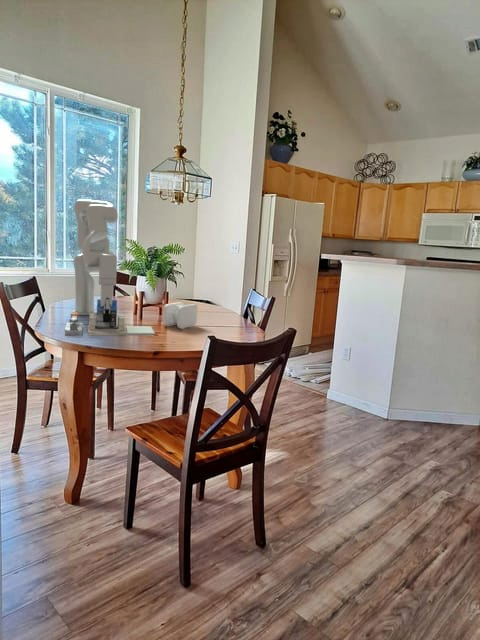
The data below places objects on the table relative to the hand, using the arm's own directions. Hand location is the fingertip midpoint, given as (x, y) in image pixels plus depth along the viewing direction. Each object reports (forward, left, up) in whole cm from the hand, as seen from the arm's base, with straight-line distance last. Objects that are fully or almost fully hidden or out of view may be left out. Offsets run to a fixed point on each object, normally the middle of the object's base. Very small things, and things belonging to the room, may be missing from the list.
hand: (106, 320), depth 206 cm
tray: (+1, +15, -5) cm, 16 cm away
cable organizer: (-10, +36, -5) cm, 38 cm away
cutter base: (+1, -14, -5) cm, 15 cm away
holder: (+1, 0, -5) cm, 5 cm away
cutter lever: (-1, -14, -2) cm, 14 cm away
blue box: (0, 0, -3) cm, 3 cm away
